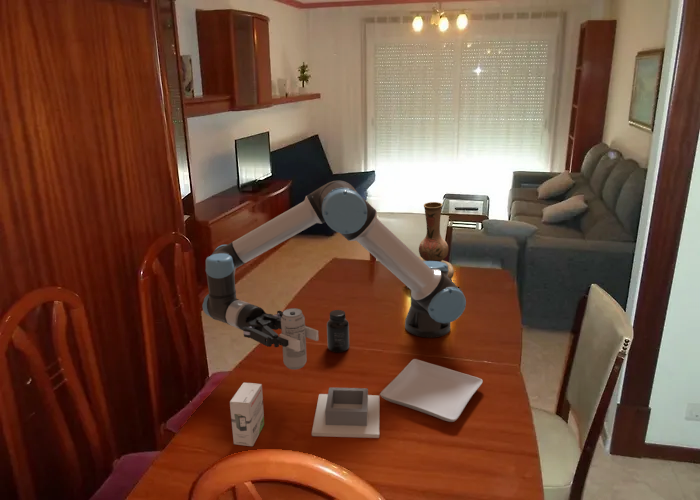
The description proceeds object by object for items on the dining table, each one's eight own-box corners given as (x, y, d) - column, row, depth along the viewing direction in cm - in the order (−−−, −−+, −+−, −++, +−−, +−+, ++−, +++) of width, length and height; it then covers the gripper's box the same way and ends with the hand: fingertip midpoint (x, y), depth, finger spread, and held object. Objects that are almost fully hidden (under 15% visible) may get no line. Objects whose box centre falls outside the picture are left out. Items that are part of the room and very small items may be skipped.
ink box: (246, 422, 132) (242, 380, 128) (265, 424, 131) (262, 382, 128) (232, 444, 124) (228, 401, 121) (253, 447, 123) (249, 403, 120)
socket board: (379, 398, 141) (379, 382, 140) (379, 437, 126) (379, 420, 124) (319, 397, 142) (318, 380, 140) (311, 436, 127) (311, 418, 125)
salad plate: (455, 431, 129) (455, 419, 127) (377, 404, 139) (377, 393, 138) (483, 389, 146) (484, 378, 144) (413, 368, 156) (413, 357, 155)
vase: (390, 289, 212) (392, 203, 201) (417, 273, 229) (419, 192, 218) (445, 303, 199) (449, 212, 188) (468, 284, 216) (474, 200, 205)
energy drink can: (305, 357, 143) (303, 306, 138) (307, 369, 137) (305, 316, 132) (283, 359, 142) (279, 308, 137) (284, 371, 136) (281, 318, 131)
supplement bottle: (352, 345, 169) (352, 310, 165) (343, 355, 163) (343, 319, 159) (333, 340, 172) (332, 306, 168) (323, 350, 166) (322, 315, 162)
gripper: (272, 317, 155) (333, 339, 142) (220, 342, 141) (282, 370, 128) (270, 293, 153) (332, 314, 139) (217, 316, 139) (280, 342, 125)
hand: (308, 340), depth 134 cm, fingers closed on energy drink can, 6 cm apart
